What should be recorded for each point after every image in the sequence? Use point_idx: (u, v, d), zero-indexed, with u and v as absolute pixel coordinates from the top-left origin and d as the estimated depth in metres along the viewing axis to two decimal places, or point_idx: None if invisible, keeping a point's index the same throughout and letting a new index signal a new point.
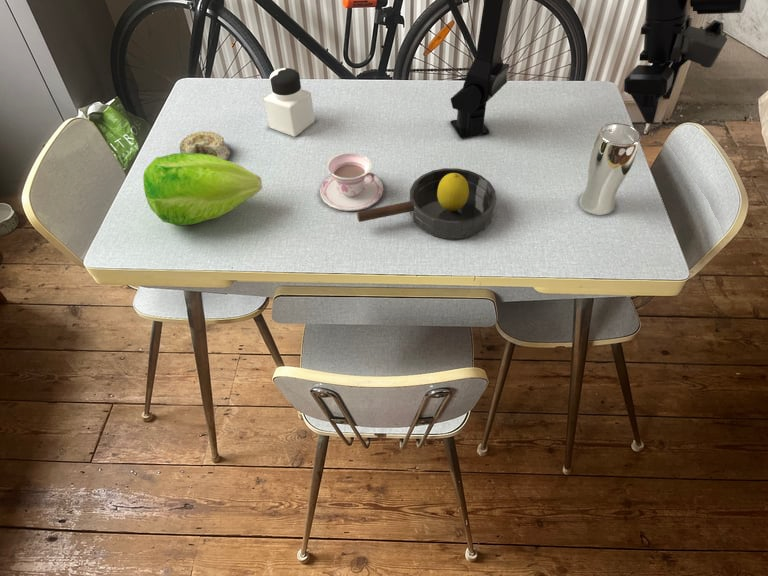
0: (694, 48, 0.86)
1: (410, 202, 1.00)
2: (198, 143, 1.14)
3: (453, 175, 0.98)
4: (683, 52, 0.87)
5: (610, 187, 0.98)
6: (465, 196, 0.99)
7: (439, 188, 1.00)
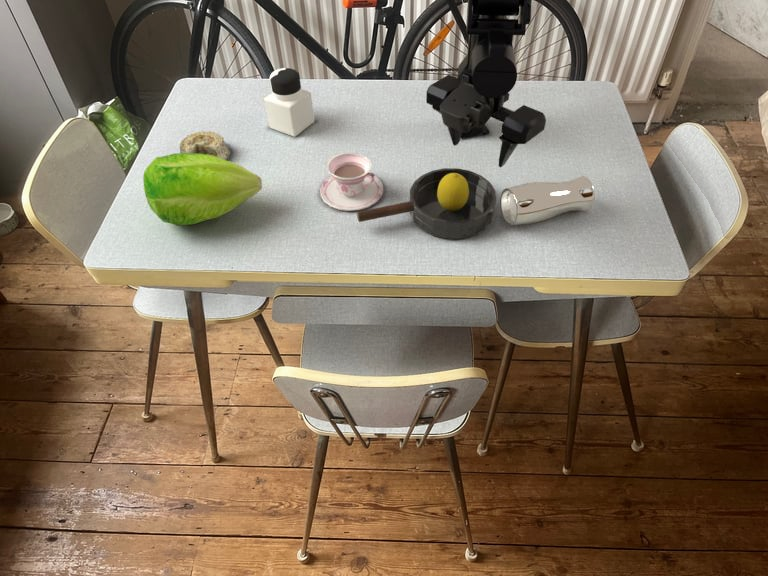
0: None
1: (410, 202, 1.00)
2: (198, 143, 1.14)
3: (453, 175, 0.98)
4: None
5: (561, 210, 1.00)
6: (465, 196, 0.99)
7: (439, 188, 1.00)
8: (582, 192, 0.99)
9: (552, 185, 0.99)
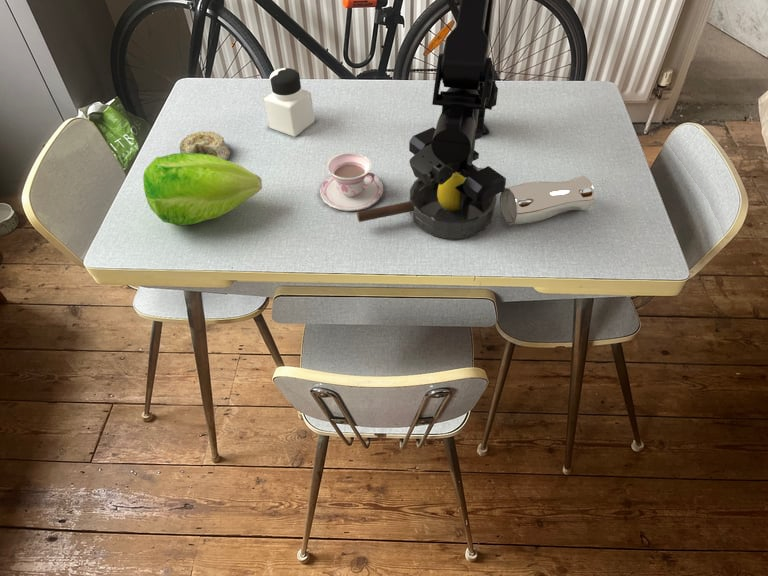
0: None
1: (410, 202, 1.00)
2: (198, 143, 1.14)
3: (453, 175, 0.98)
4: None
5: (561, 209, 1.00)
6: None
7: (439, 188, 1.00)
8: (581, 191, 0.99)
9: (551, 184, 0.99)
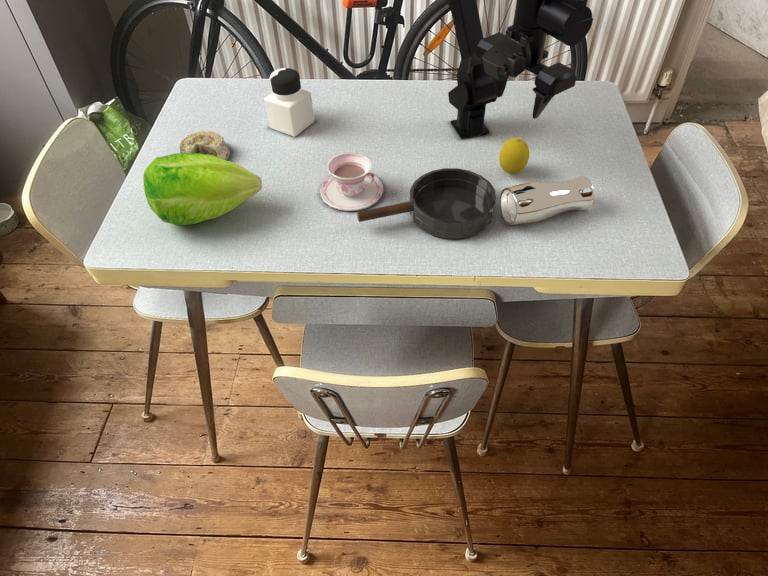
0: None
1: (410, 202, 1.00)
2: (198, 143, 1.14)
3: (516, 139, 1.05)
4: None
5: (561, 209, 1.00)
6: (526, 159, 1.07)
7: (502, 152, 1.07)
8: (581, 191, 0.99)
9: (551, 184, 0.99)
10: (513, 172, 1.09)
